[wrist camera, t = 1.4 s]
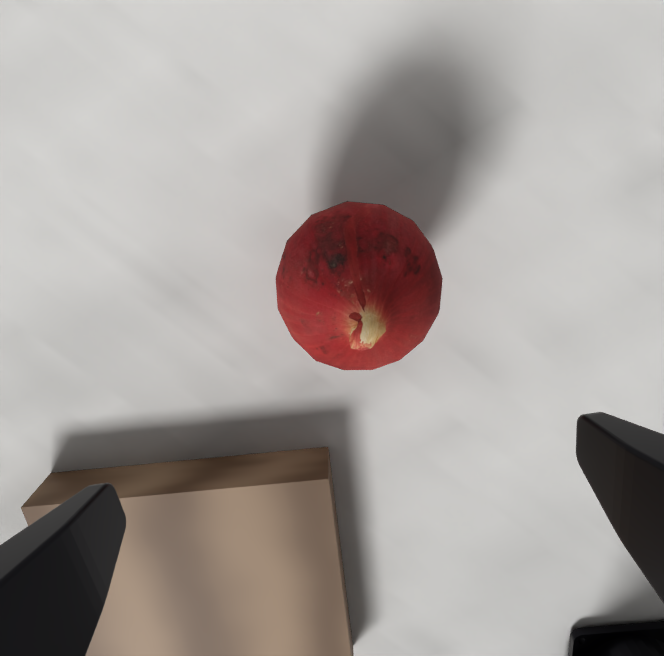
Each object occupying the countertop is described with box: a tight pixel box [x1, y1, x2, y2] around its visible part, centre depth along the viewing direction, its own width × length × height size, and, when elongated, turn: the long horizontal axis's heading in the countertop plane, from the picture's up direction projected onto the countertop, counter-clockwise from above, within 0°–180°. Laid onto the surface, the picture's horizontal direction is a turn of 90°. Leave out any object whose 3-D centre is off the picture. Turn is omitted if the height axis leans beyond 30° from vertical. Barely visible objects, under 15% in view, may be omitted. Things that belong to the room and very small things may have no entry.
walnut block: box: [21, 447, 353, 656], centre depth 25 cm, size 14×14×3 cm
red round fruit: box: [276, 201, 442, 370], centre depth 17 cm, size 6×6×8 cm
